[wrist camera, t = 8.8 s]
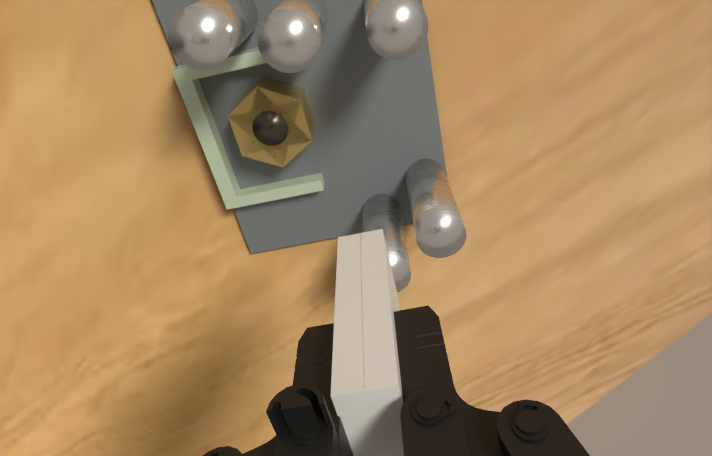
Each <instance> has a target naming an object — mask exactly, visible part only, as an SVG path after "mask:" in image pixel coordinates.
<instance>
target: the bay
mask: <svg viewBox="0 0 712 456" xmlns="http://www.w3.org/2000/svg"><path fill="white" fill-rule="evenodd" d="M264 63H267V62H266V61H265V60H264V58H263V57H262V55H261V53H260V50H259V47H257V48H253V49H248V50H244V51H240V52H236V53H231V54H230V55H229V56H228V57H227V58H226V59H225V60H224V61H223V62H222V63H221V64H220V65H219V66H217V67H216V68H214V69H211V70H206V71H200V70H195V69H192V68H189V67H187V66H186V65H180V66H177V67H176V68H174V69H173V70H172V73H173V76H174V78H175V81H176V83H177V86H178V88H179V91H180V93H181V96H182V98H183V101H184V103H185V106H186V108H187V111H188V113H189V116H190V118H191V121H192V123H193V126H194V128H195V131H196V133H197V136H198V138H199V141H200V143H201V146H202V148H203V151H204V153H205V156H206V158H207V161H208V163H209V166H210V168H211V171H212V173H213V176H214V179H215V181H216V184H217V186H218V189H219V191H220V194H221V196H222V199H223V201H224V204H225V206H226V209H227V210H228V209H233V208H238V207H243V206H248V205H253V204H258V203H263V202H268V201H273V200H278V199H283V198H288V197H293V196H298V195H303V194H308V193H313V192H318V191H323V190H324V179H323V175H322V173H318V174H313V175H308V176H303V177H298V178H294V179H289V180H284V181H279V182H274V183H269V184H264V185H259V186H254V187H249V188H244V189H240V188H239V185H238V182H237V180H236V177H235V174H234V172H233V169H232V166H231V164H230V161H229V158H228V156H227V153H226V150H225V148H224V145H223V142H222V140H221V137H220V134H219V132H218V129H217V126H216V124H215V121H214V118H213V116H212V113H211V110H210V108H209V105H208V102H207V100H206V97H205V94H204V92H203V89H202V86H201V84H200V81H199V78H204V77H208V76H212V75H217V74H221V73H225V72H230V71H234V70H238V69H243V68H247V67H251V66H256V65H260V64H264Z"/></svg>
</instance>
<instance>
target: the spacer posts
mask: <svg viewBox="0 0 712 456" xmlns="http://www.w3.org/2000/svg"><path fill="white" fill-rule="evenodd" d="M364 10H365V21H366V32H367V38H368V41H369V43H370V45H371V47H372V48H373V50H374V51H375V52H376V53H377V54H379V55H380V56H382V57H383V58H386V59H389V60H403V59H406V58H409V57H411V56H412V55H414V54H415V53H416V52H417V51H418V50H419V49H420V48H421V47H422V45H423V44H424V42H425V39H426V37H427V32H428V20H427V16H426V13H425V11H424V9H423V8H422V6H421V5H420V4H419V3H418V2H417V0H365V2H364ZM257 23H258V11H257V7H256V5H255V3H254V1H253V0H200V1H198V2H196V3H194V4H192V5H190V6H187V7H185V8H183V9H181V10H179V11H178V12H176V13H175V14H174V15H173V17H172V18H171V20H170V22H169V25H168V29H167V38H168V43H169V46H170V48H171V50H172V52H173V54H174V55H175V56H176V58H177V59H178V60H179V61H180V62H181V63H183V64H184V65H186V66H187V67H189V68H192V69H195V70H200V71H206V70H211V69H214V68H216V67H217V66H219V65H220V64H221V63H222V62H223V61H224V60H225V59H226V58H227V57H228V56H229V55H230V54H231V53H232V52H233V51H234V50H235V49H236V48H237V47H238V46H239V45H240V44H241V43H242V42H243V41H244V40H245V39H246V38H247V37H248V36H249V35H250V34H251V33H252V32H253V31H254V30H255V28H256V26H257ZM326 24H327V10H326V7H325V5H324V3H323V1H322V0H284V1H283V2H282V3H281V4H280V5H279V6H278V7H276V8H275V9H274V10H273V11H272V12H271V13H270V14H269V15H268V16H267V17H266V18H265V19H264V21H263V22H262V24H261V26H260V28H259V32H258V47H259V50H260V53H261V55H262V57H263V58H264V60H265V61H266V62H267V63H268V64H269V65H270V66H271V67H273V68H274V69H276V70H278V71H280V72H284V73H296V72H300V71H302V70H304V69H306V68H307V67H308V66H309V65H310V64H311V63H312V62H313V61H314V59H315V57H316V55H317V52H318V49H319V46H320V43H321V39H322V36H323V33H324V30H325V27H326ZM405 182H406V187H407V192H408V198H409V203H410V208H411V213H412V219H413V224H414V229H415V234H416V239H417V244H418V246H419V248H420V249H421V251H422V252H424V253H425V254H426V255H429V256H431V257H436V258H443V257H448V256H451V255H453V254H455V253H456V252H457V251H459V250H460V249H461V248H462V246H463V245H464V243H465V240H466V230H465V227H464V224H463V221H462V219H461V216H460V213H459V210H458V208H457V205H456V202H455V199H454V196H453V194H452V191H451V188H450V185H449V183H448V180H447V177H446V174H445V171H444V169H443V167H442V166H441V165H440V164H439V163H438V162H437V161H435V160H432V159H421V160H418V161H416V162H414V163H413V164H412V165H411V166H410V167H409V168H408V169H407V172H406V175H405ZM362 218H363V232H369V231H374V230H379V229H383V233H384V237H385V241H386V246H387V250H388V255H389V259H390V264H391V268H392V272H393V277H394V281H395V286H396V290H397V292H400V291H401V290H403V289H404V288H405V287H406V286H407V285H408V283H409V281H410V278H411V272H410V266H409V259H408V253H407V246H406V240H405V234H404V227H403V221H402V214H401V208H400V205H399V203H398V201H397V200H396V199H395V198H394V197H392V196H390V195H387V194H377V195H374V196H372V197H370V198H369V199H368V200H367V201H366V202H365V203H364V206H363V209H362Z"/></svg>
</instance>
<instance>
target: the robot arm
mask: <svg viewBox="0 0 712 456" xmlns="http://www.w3.org/2000/svg"><path fill="white" fill-rule="evenodd" d="M266 413H267V415H268V417H269V419H270V422H271V424H272V426H273V428H274V430H275V432H276V434H277V435H276V436H275V437H274V438H273V439H271V440H270V441H268V442H267V443H265V444H263V445H261V446H259V447H257V448H255V449H253V450H250V451H248V452H246V453H244V454H241V452H240V451H239V450H238V449H236V448H233V447H229V446H226V447H218V448H216V449H214V450H211V451H209V452H207V453H206V454H205V455H203V456H590V455H589V454H588V453H587V451H586V450H585V449H584V447H583V446H582V445H581V443H580V442H579V441H578V439H577V438H576V437H575V436H574V434H573V433H572V432H571V431H570V429H569V428H568V426H567V425H566V424H565V422H564V421H563V420H562V418H561V417H560V416H559V415H558V414H557V413H556V412H555V411H554V410H553V409H552V408H551V407H550V406H547V405H545V404H543V403H541V402H539V401H532V400H521V401H515V402H512V403H511V404H509V405H507V406H506V407H504V408H503V409H502V411H501V412H495V411H487V410H482V409H478V408H475V407H473V406H471V405H469V404H467V403H466V402H465V401H463V400H462V399H461V398H460V397H459V395H458V394H457V393H456V390H455V387H454V384H453V380H452V375H451V371H450V366H449V362H448V357H447V353H446V348H445V344H444V339H443V335H442V330H441V326H440V321H439V317H438V316H437V314H436V313H435V312H434V311H433V310H432V309H431V308H430V307H429V306H424V307H418V308H412V309H406V310H401V311H399V304H398V296H397V290H396V286H395V281H394V277H393V272H392V268H391V264H390V259H389V255H388V250H387V246H386V241H385V237H384V233H383V229H379V230H374V231H369V232H363V233H358V234H353V235H348V236H343V237H338V247H337V269H336V291H335V312H334V323H333V324H327V325H321V326H315V327H310V328H307V329H306V330H305V332H304V334H303V335H302V337H301V338H300V340H299V342H298V349H297V359H296V364H295V372H294V380H293V386H290V387H287V388H285V389H284V390H282V391H281V392H279V393H278V394H277V395H276V396H275V397H274V398H273V399H272V400H271V402H270V403H269V406H268V408H267V411H266Z"/></svg>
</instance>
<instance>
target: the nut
mask: <svg viewBox="0 0 712 456" xmlns="http://www.w3.org/2000/svg"><path fill="white" fill-rule="evenodd" d="M228 118H229V121H230V124H231V127H232V129H233V132H234V135H235V138H236V141H237V143H238V146H239V149H240V152H241V154H242V156H244V157H248V158H251V159H255V160H258V161H262V162H265V163H269V164H272V165H276V166H279V167H284V166H285V165H286V164H287V163H288V162H290V161H291V160H292V159H293V158H294V157H295V156H296V155H297V154H298V153H300V152H301V151H302V150H303V149H304V148H305V147H306V146H307V145H308V144H310V143H311V142H312V140H313V135H314V130H315V125H314V122H313V118H312V114H311V111H310V107H309V103H308V100H307V96H306V92H305V89H304V88H301V87H298V86H295V85H292V84H288V83H285V82H282V81H279V80H276V79H272V78H269V77H266V76H263V77H262V78H261V79H260V80H259V81H258V82H257V83H256V84H255V85H254V86H253V87H252V88H251V89H250V90H249V91H248V92H247V93H246V94H245V95H244V96H243V97H242V98H241V99H240V100H239V101H238V102H237V103H236V105H235V106H234V107H233V109H232V110H231V112H230V113H229V115H228Z"/></svg>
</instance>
